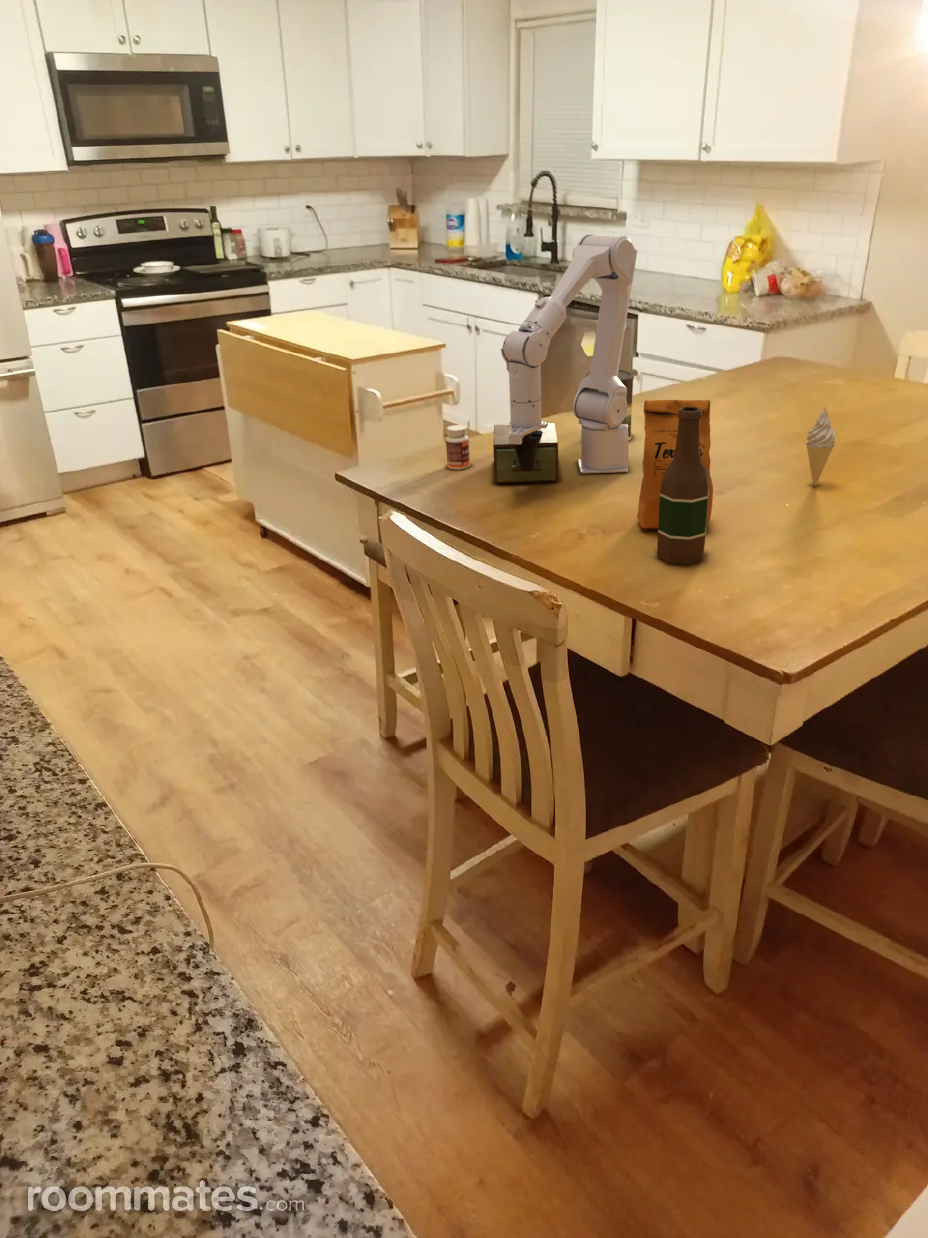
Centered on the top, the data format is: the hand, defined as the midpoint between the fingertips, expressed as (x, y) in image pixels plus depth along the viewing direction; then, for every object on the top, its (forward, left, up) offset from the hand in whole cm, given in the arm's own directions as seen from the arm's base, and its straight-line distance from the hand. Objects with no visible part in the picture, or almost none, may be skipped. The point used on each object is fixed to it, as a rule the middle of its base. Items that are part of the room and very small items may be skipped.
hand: (527, 470), depth 174 cm
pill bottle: (+14, -18, -5) cm, 24 cm away
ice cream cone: (-54, +1, -5) cm, 54 cm away
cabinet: (0, -13, -5) cm, 14 cm away
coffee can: (-19, -34, -5) cm, 40 cm away
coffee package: (-25, +18, -5) cm, 31 cm away
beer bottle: (-24, +31, -5) cm, 39 cm away
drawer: (0, -9, -4) cm, 10 cm away
